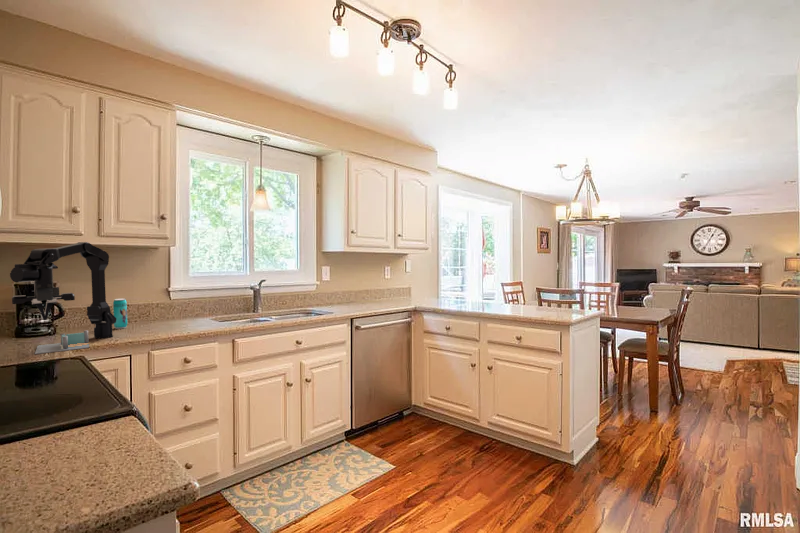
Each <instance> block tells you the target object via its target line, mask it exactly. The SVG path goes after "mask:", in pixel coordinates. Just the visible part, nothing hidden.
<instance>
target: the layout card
mask: <svg viewBox="0 0 800 533" xmlns="http://www.w3.org/2000/svg"><path fill="white" fill-rule="evenodd" d="M89 348H90V343H89V344H87V345H82V346H75V347H68V348H63V346H62V345H61V342H57V343H47V344H40V345H37V346H36V349H35V351H34V355H42V354H50V353H56V352H58V353H59V352H67V351H77V350H82V349H84V350H85V349H89Z"/></svg>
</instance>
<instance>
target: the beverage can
mask: <svg viewBox="0 0 800 533" xmlns="http://www.w3.org/2000/svg"><path fill="white" fill-rule="evenodd" d="M127 305H128V303H127V300H126V298H115V299H114V298H113V302H112V306H113V307H112V309H113V310H112V311H113V315H114V316H115V317H116V318H117V320H116V323H114V324H113V327H114V328H115V329H116V330H121V329H122V330H123V329H127V326H128V306H127Z"/></svg>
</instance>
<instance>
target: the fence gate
mask: <svg viewBox="0 0 800 533" xmlns="http://www.w3.org/2000/svg"><path fill="white" fill-rule="evenodd" d="M60 343H61V345H62V346H63V348H68V336H66V333H60Z"/></svg>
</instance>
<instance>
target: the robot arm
mask: <svg viewBox="0 0 800 533" xmlns="http://www.w3.org/2000/svg"><path fill="white" fill-rule="evenodd" d="M75 254H80V256H81V257H82V258H83V259H85V262H86V265H87V267H88V269H89V270H90V273H91V274H90V275H91V277H90V278H91V296H92V297H91V299H92V302H91V304H90V305H89V306H88V305H87V307H86V316H87V317H88V320H89V322H90V323H91V325H95V326H94V327H93V338H94V337H95V339H96V338H97V339H102V338H103V339H104V338H105V339H107V338H113V337H114V334H113V325H114V323H116V320H117V318H116V317H115V316H114V313H113V314H112V310H111V307H110V305H109V304H108V302H107V300H106V298H107V297H106V294H107V293H106V272H105V271H106V269H107V268H108V265H109V262H110V261H109V260H110V255H109V253H108V252H107V251H105V250H103V249H101V248H99V247H97V246H94V245H93V244H92V243H90V242H88V241H87V242H86V241H83V242H82V241H81V242H77V243H71V244H68V245H63V246H59V247H53V248H35V249H32V250H31V251H30V253H29V255H28V257H27V258H26V259H25V261H24V262H23V263H14V267H13V268H12V269H11V271H10V273H9V277H10V280H11V281H12V282H14V283H26V282H28V283H29V282H33V286H34V296H26V294H25V295H24V294H23V295H22V294H21V295H13V296H12V298H11V300H12V302H11V303H12V305H21V304H25V303H26V302H31V305H32V306H36V308H37V309H38V311H39V313H40V315H41V317H42V319H43V321H47V319H48V317H49V316H48V315H49V314H50V312H51V309H52V307H53V305H56V304H57V303H58V302H57V300H64V301H65V302H66V301H67V302H68V301H75V299H76V297H75V294H74V293H73V292H61V294H60V286H58V287H57V286H56V287H54V272H53V271H54V270H56V269H58V268H59V267H58V266H57V265H56V264H54V262H57V261H59V260H60V259H61V258H64V257H67V256H72V255H75ZM42 301H43V302H44V301H46V302H45V309H44V307H43V306H44V305H43V302H42Z"/></svg>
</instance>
